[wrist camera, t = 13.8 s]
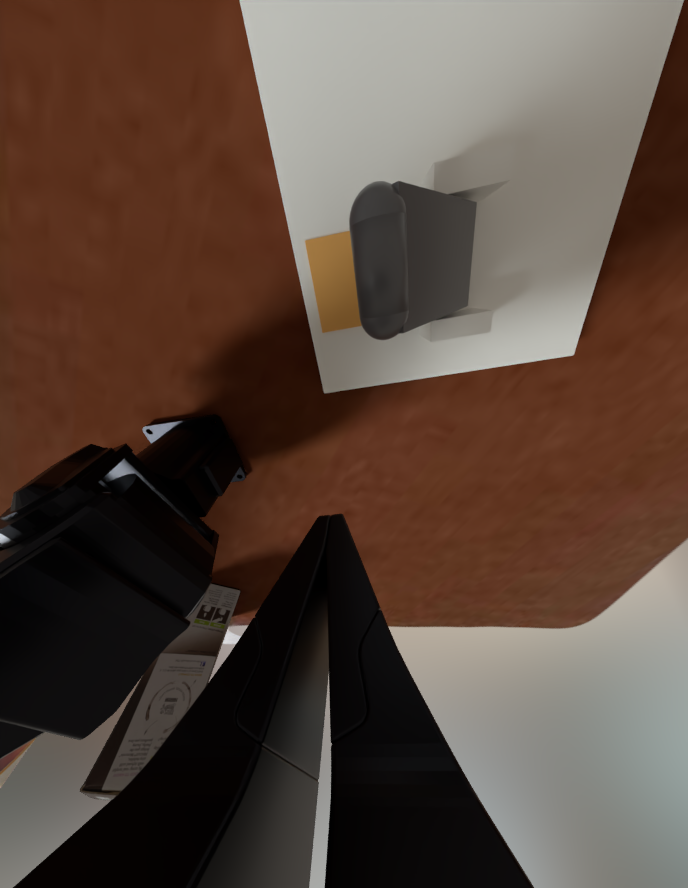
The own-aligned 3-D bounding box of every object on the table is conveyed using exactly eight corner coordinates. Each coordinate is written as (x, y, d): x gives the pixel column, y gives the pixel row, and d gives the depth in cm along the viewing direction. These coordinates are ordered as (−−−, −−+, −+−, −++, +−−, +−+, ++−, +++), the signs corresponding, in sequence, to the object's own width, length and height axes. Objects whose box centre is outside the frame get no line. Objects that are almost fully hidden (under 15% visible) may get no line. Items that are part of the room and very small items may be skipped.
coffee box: (193, 578, 32) (75, 793, 18) (242, 589, 33) (167, 798, 19) (187, 609, 36) (89, 801, 23) (230, 618, 38) (163, 806, 24)
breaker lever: (441, 311, 14) (353, 345, 10) (444, 211, 12) (332, 191, 7) (474, 307, 13) (393, 345, 8) (485, 196, 11) (382, 163, 6)
